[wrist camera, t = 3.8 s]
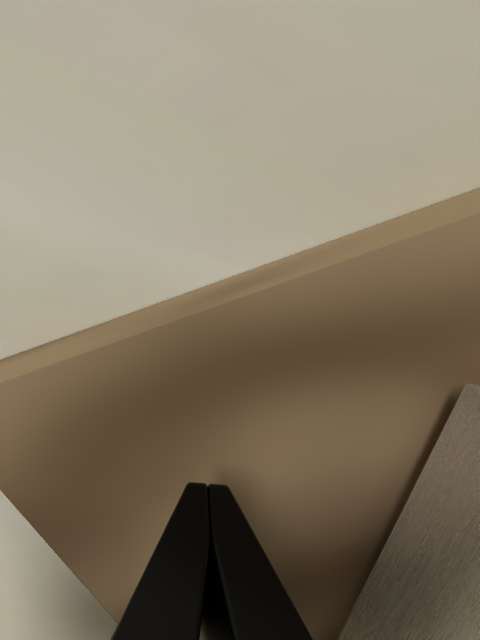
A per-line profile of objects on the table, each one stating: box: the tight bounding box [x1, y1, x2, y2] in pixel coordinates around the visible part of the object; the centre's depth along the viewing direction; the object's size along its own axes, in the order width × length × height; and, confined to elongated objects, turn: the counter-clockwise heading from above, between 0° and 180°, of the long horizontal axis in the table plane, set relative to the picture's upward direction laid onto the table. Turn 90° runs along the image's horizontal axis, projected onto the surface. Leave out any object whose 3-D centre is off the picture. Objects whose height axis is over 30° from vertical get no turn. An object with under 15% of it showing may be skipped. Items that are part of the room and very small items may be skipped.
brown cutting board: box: [0, 188, 480, 640], centre depth 12 cm, size 21×21×2 cm
